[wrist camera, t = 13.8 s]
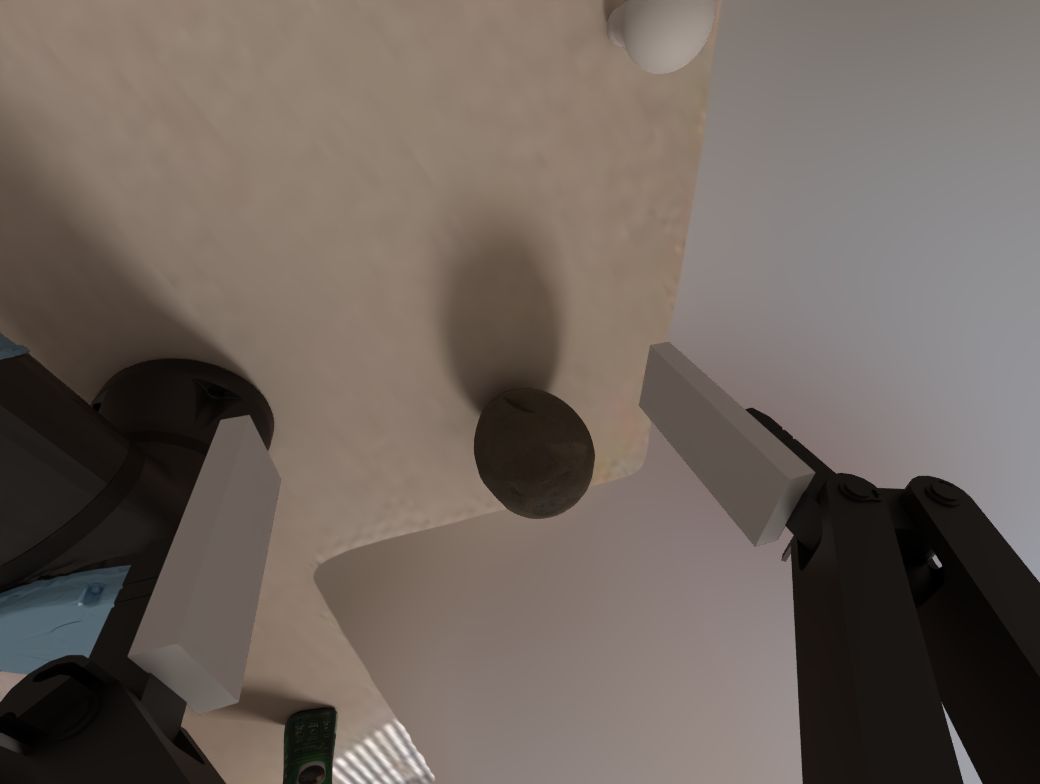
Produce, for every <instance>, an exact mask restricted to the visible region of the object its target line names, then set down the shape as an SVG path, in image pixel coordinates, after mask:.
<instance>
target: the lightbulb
mask: <svg viewBox="0 0 1040 784" xmlns="http://www.w3.org/2000/svg"><path fill="white" fill-rule="evenodd" d="M715 14H716V0H627V1H626V2H625V3H624V4H623V5H621V6H619V7H617V8H615V9H614V10H613V11H612V13H611V14H610V16H609V18H608V21H607V35H608V38H609V40H610V41H611V42H612V43H613V44H615V45H618V46H622V47H623V48H625V49H626V50H627V52H628V55H629V56H630V58H631V59H632V61H633V62H634V63H635V64H636V65H637V66H638V67H640V68H641V69H643V70H645V71H647V72H649V73H653V74H667V73H670V72H673V71H676V70H678V69H680V68H682V67H683V66H685V65H686V64H688V63H689V62H690V61H691V60H692V59H693V58H694V57H696V55H697V54H698V53H699V52H700V50H701V49H702V48H703V46H704V44H705V43H706V41H707V39H708V37H709V34H710V32H711V30H712V27H713V23H714V20H715Z"/></svg>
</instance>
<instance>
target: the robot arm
mask: <svg viewBox="0 0 1040 784" xmlns="http://www.w3.org/2000/svg"><path fill="white" fill-rule="evenodd" d="M29 352H30V350H29V349H27V348H26V347H24V346H23V345H17V344H15V343H14V342H12V341H11V340H10V339H8V338H7V337H5V336H4V335H3V334H1V333H0V671H4V672H11V673H20V674H28V675H27V676H26V677H25V678H23V679H22V680H21V681H20V682H19V683H18V684H16V685H15V686H14V687H13V688H12V689H11V690H10V691H9V692H8V693H7V695H6V696H5V697H4V698H3V700H2V701H1V702H0V745H1V746H0V784H226V783H225V782H224V780H223V779H222V778H221V776H220V775H219V774H218V772H217V771H216V770H215V768H214V767H213V766H212V764H211V763H210V762H209V760H208V759H207V757H206V756H205V755H204V753H203V752H202V751H201V749H200V748H199V747H198V745H197V744H196V743H195V741H194V740H193V739H192V737H191V736H190V735H189V733H188V732H187V731H186V730H185V729H184V728H183V727H181V723H182V719H183V715H184V712H185V708H186V705H188V706H189V707H190V708H191V709H193V710H194V711H195V712H196V713H198V714H203V713H206V712H209V711H213V710H216V709H219V708H223V707H226V706H229V705H233V704H236V703H239V699H240V694H241V688H242V683H243V678H244V673H245V667H246V662H247V657H248V652H249V646H250V641H251V636H252V631H253V625H254V620H255V615H256V610H257V604H258V599H259V594H260V589H261V583H262V578H263V573H264V567H265V562H266V557H267V552H268V546H269V541H270V536H271V531H272V525H273V520H274V515H275V510H276V504H277V499H278V494H279V489H280V483H281V477H280V475H279V473H278V471H277V469H276V467H275V465H274V463H273V461H272V459H271V457H270V455H269V453H268V450H269V448H270V444H271V440H272V436H273V432H274V418H273V414H272V411H271V408H270V406H269V404H268V403H267V401H266V400H265V398H264V397H263V396H262V395H261V393H260V392H259V391H258V390H257V389H256V388H255V387H253V386H252V385H251V384H250V383H248V382H247V381H246V380H244V379H243V378H241V377H239V376H238V375H236V374H234V373H232V372H230V371H228V370H225V369H223V368H220V367H218V366H214V365H211V364H208V363H204V362H199V361H193V360H185V359H160V360H152V361H147V362H142V363H139V364H136V365H133V366H130V367H128V368H126V369H124V370H122V371H120V372H119V373H117V374H116V375H114V376H113V377H112V378H111V379H110V380H109V381H108V382H107V383H106V384H105V385H104V387H103V388H102V389H101V390H100V392H99V393H98V394H97V395H96V397H95V398H94V400H93V401H92V403H91V406H90V405H89V404H88V403H87V402H85V401H84V400H83V399H82V398H81V397H79V396H78V395H77V394H76V393H75V392H74V391H72V390H71V389H70V388H69V387H68V386H66V385H65V384H64V383H63V382H62V381H61V380H59V379H58V378H57V377H56V376H55V375H53V374H52V373H51V372H50V371H49V370H48V369H46V368H45V367H44V366H43V365H42V364H40V363H39V362H38V361H37V360H36V359H35V358H33V357H32V356H31V355H30V354H29ZM639 406H640V407H641V409H642V410H643V411H644V412H645V414H646V415H647V416H648V417H649V418H650V420H651V421H652V422H653V423H654V424H655V426H656V427H657V428H658V429H659V431H660V432H661V433H662V434H663V435H664V437H665V438H666V439H667V440H668V442H669V443H670V444H671V445H672V446H673V447H674V449H675V450H676V451H677V452H678V454H679V455H680V456H681V457H682V459H683V460H684V461H685V462H686V463H687V465H688V466H689V467H690V468H691V470H692V471H693V472H694V473H695V474H696V476H697V477H698V478H699V479H700V480H701V482H702V483H703V484H704V485H705V487H706V488H707V489H708V490H709V491H710V493H711V494H712V495H713V496H714V497H715V499H716V500H717V501H718V502H719V503H720V505H721V506H722V507H723V508H724V510H725V511H726V512H727V513H728V515H729V516H730V517H731V518H732V519H733V521H734V522H735V523H736V524H737V525H738V527H739V528H740V529H741V530H742V531H743V533H744V534H745V535H746V536H747V538H748V539H749V540H750V541H751V543H752V544H753V545H754V546H755V547H756V546H760V545H763V544H766V543H770V542H773V541H776V540H778V539H779V537H780V535H781V534H782V532H783V530H784V528H785V526H786V527H787V528H788V529H789V530H790V531H791V532H792V533H793V535H794V536H793V538H792V539H791V541H790V543H789V544H788V546H787V548H786V550H785V551H784V553H783V556H782V561H785V562H786V560H787V559H788V557H789V555H790V554H791V560H792V580H793V600H794V620H795V640H796V659H797V678H798V699H799V718H800V738H801V758H802V777H803V784H964V783H963V780H962V776H961V773H960V769H959V765H958V761H957V758H956V754H955V750H954V747H953V743H952V740H951V736H950V732H949V728H948V725H947V721H946V718H945V714H944V710H943V706H944V708H945V710H946V712H947V714H948V716H949V718H950V720H951V722H952V724H953V726H954V728H955V730H956V732H957V734H958V736H959V738H960V740H961V741H962V744H963V746H964V748H965V750H966V752H967V754H968V756H969V758H970V760H971V762H972V763H973V765H974V768H975V770H976V772H977V774H978V776H979V777H980V779H981V782H982V783H983V784H1040V582H1039V581H1038V580H1037V579H1036V577H1035V576H1034V575H1033V574H1032V573H1031V571H1030V570H1029V569H1028V568H1027V566H1026V565H1025V564H1024V563H1023V561H1022V560H1021V559H1020V558H1019V556H1018V555H1017V554H1016V553H1015V551H1014V550H1013V549H1012V548H1011V546H1010V545H1009V544H1008V543H1007V542H1006V540H1005V539H1004V538H1003V536H1002V535H1001V534H1000V533H999V532H998V530H997V529H996V528H995V527H994V525H993V524H992V523H991V522H990V520H989V519H988V518H987V517H986V516H985V514H984V513H983V512H982V510H981V509H980V508H979V507H978V505H977V504H976V503H975V502H974V501H973V499H972V498H971V497H970V496H969V495H967V494H966V493H965V492H964V491H963V490H962V489H960V488H959V487H957V486H955V485H954V484H952V483H950V482H947V481H945V480H942V479H940V478H936V477H931V476H917V477H915V478H913V479H912V480H911V481H910V482H909V484H908V485H907V486H906V488H905V489H889V488H888V489H887V488H877V487H875V485H873V484H872V483H870V482H868V481H867V480H865V479H863V478H860V477H858V476H855V475H852V474H844V473H838V474H836V473H835V472H833V471H832V470H831V469H830V468H829V467H827V466H826V465H825V464H824V463H823V462H822V461H821V460H819V459H818V458H817V457H816V456H815V455H814V454H812V453H811V452H810V451H809V450H808V449H807V448H805V447H804V446H803V445H802V444H801V443H800V442H798V441H797V440H796V439H793V437H792V436H791V435H790V434H789V433H788V432H787V431H785V430H783V429H782V427H781V426H780V425H778V424H777V423H776V422H775V421H774V420H773V419H772V418H770V417H769V416H767V415H765V414H763V413H761V412H760V411H757V410H756V409H754V408H749V409H744V408H743V407H742V406H740V405H739V404H738V403H737V402H736V401H735V400H734V399H733V398H731V397H730V396H729V395H728V394H727V393H726V392H725V391H724V390H723V389H721V388H720V387H719V386H718V385H717V384H716V383H715V382H714V381H712V380H711V379H710V378H709V377H708V376H707V375H706V374H705V373H703V372H702V371H701V370H700V369H699V368H698V367H697V366H696V365H694V364H693V363H692V362H691V361H690V360H689V359H688V358H687V357H685V356H684V355H683V354H682V353H681V352H680V351H678V349H676V348H675V347H674V346H673V345H672V344H671V343H670V342H666V343H660V344H654V345H650V349H649V354H648V360H647V365H646V370H645V376H644V381H643V386H642V392H641V397H640V402H639ZM935 554H936V556H937V558H938V559H939V561H940V562H941V564H942V567H940V568H939V567H938V566H937V565H936V564H935V562H934V560H933V559H932V557H933V556H934V555H935ZM941 702H942V703H941ZM942 704H943V706H942Z"/></svg>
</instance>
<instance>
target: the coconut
mask: <svg viewBox="0 0 1040 784" xmlns="http://www.w3.org/2000/svg"><path fill="white" fill-rule="evenodd" d="M474 455H475V460H476V464H477V468H478V471H479V474H480V477H481V479H482V481H483V483H484V484H485V485H486V486H487V488H488V489H489V490H490V491H491V492H492V493H493V495H494V496H495V497H496V498H497V499H498V500H499V501H500V502H501V503H502V504H503V505H504V506H505V507H506V508H507V509H508V510H510V511H512V512H513V513H515V514H517V515H520V516H523V517H526V518H531V519H542V518H549V517H553V516H557V515H559V514H561V513H563V512H565V511H566V510H568V509H570V508H571V507H572V506H574V505H575V504H576V503H577V502H578V501H579V500H580V498H581V497H582V496H583V495H584V494H585V492H586V491H587V489H588V486H589V484H590V481H591V479H592V474H593V467H594V461H595V451H594V447H593V442H592V439H591V436H590V433H589V431H588V429H587V427H586V425H585V424H584V422H583V421H582V419H581V418H580V417H579V416H578V414H577V413H576V412H575V411H574V410H573V409H572V408H571V407H570V406H569V405H568V404H566V403H565V402H564V401H562V400H561V399H559V398H558V397H556V396H554V395H552V394H550V393H548V392H545V391H542V390H537V389H529V388H524V389H516V390H511V391H508V392H505V393H503V394H501V395H500V396H498V397H496V398H495V399H493V400H492V401H491V402H489V403H488V404H487V406H486V407H485V408H484V410H483V412H482V414H481V416H480V418H479V421H478V424H477V427H476V432H475V438H474Z"/></svg>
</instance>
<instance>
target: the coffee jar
mask: <svg viewBox="0 0 1040 784" xmlns="http://www.w3.org/2000/svg"><path fill="white" fill-rule="evenodd" d="M337 718H338V714H337V712H336V711H335V710H334V709H320V710H312V711H306V712H301V713H298V714H296V715H294V716H293V717H291V718H290V719H289V720H288V721H287V723H286V725H285V732H284V774H283V784H332V768H333V756H334V747H335V739H336V730H337Z"/></svg>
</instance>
